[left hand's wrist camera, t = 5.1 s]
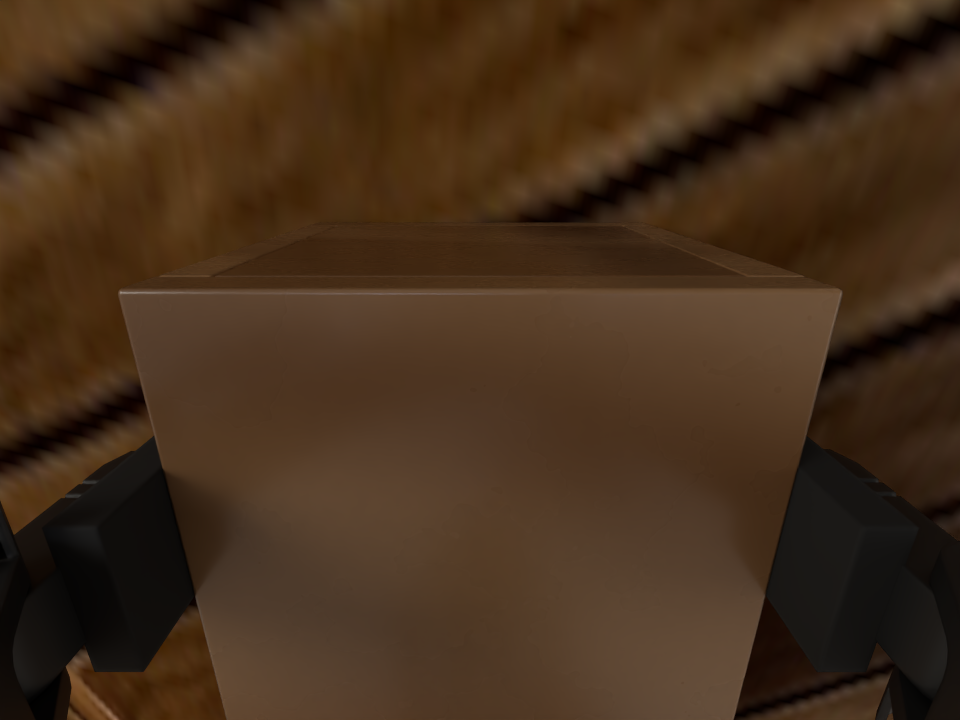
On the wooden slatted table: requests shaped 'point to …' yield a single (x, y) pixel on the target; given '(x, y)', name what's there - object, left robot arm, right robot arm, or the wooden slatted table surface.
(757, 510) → the cabinet
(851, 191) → the wooden slatted table surface
